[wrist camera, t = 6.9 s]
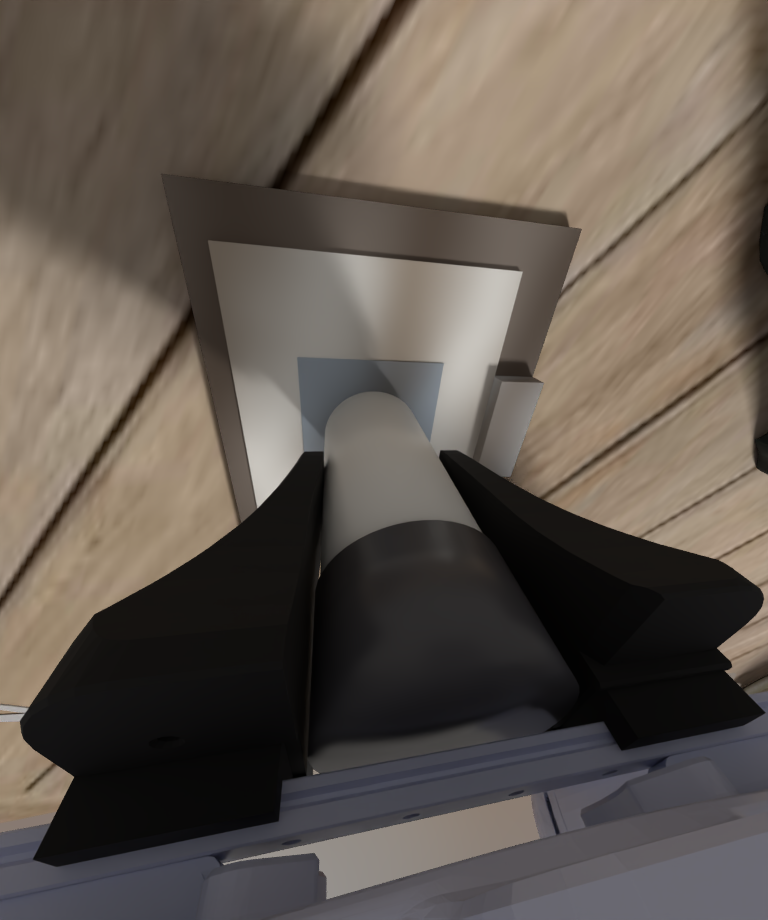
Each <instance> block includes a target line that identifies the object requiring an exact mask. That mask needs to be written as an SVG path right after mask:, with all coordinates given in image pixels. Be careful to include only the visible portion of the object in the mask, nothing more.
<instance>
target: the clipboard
mask: <svg viewBox="0 0 768 920" xmlns="http://www.w3.org/2000/svg"><path fill="white" fill-rule="evenodd" d="M161 175H162V179H163V184H164V188H165V192H166V197H167V201H168V205H169V210H170V214H171V219H172V223H173V227H174V232H175V236H176V240H177V245H178V249H179V254H180V258H181V262H182V267H183V271H184V275H185V280H186V284H187V288H188V293H189V297H190V302H191V306H192V310H193V315H194V319H195V323H196V328H197V332H198V336H199V341H200V345H201V350H202V354H203V358H204V363H205V367H206V371H207V376H208V380H209V385H210V389H211V393H212V398H213V402H214V406H215V411H216V415H217V419H218V424H219V428H220V433H221V437H222V441H223V446H224V450H225V454H226V459H227V463H228V468H229V472H230V476H231V481H232V485H233V489H234V494H235V498H236V502H237V507H238V511H239V516H240V520H241V523H242V522H243V521H244V520H245V519H246V518H247V517H249V516H250V515H251V514H252V513H253V512H254V511H255V510H256V509H257V508H258V507H259V506H260V505H261V504H262V503H263V502H264V501H265V500H266V499H267V498H268V497H269V496H270V495H271V494H272V492H273V491H274V490H275V489H276V488H277V487H278V486H279V485H280V483H281V482H282V481H283V480H284V478H285V477H286V476H287V475H288V473H289V472H290V471H291V469H292V468H293V467H294V465H295V464H296V462H297V461H298V459H299V458H300V456H301V455H302V454H303V453H304V452H305V451H324V445H325V428H326V424H327V421H328V419H329V417H330V415H331V413H332V412H333V411H334V409H335V408H336V407H337V406H338V405H339V404H340V403H342V402H343V401H344V400H346V399H347V398H349V397H351V396H353V395H356V394H359V393H363V392H372V391H376V392H384V393H388V394H391V395H393V396H395V397H397V398H399V399H400V400H402V401H403V402H404V403H405V404H406V405H407V406H408V407H409V408H410V410H411V411H412V413H413V415H414V416H415V418H416V420H417V421H418V423H419V425H420V427H421V428H422V430H423V432H424V433H425V435H426V437H427V439H428V440H429V442H430V444H431V445H432V447H433V449H434V451H435V452H436V454H437V456H438V457H439V455H440V450H458V451H460V452H462V453H463V454H465V455H467V456H469V457H470V458H472V459H474V460H475V461H477V462H478V463H480V464H482V465H483V466H485V467H486V468H488V469H490V470H491V471H493V472H494V473H496V474H498V475H499V476H501V477H511V474H512V471H513V468H514V465H515V463H516V460H517V457H518V454H519V451H520V449H521V446H522V443H523V440H524V437H525V435H526V432H527V429H528V426H529V423H530V421H531V418H532V415H533V412H534V409H535V407H536V404H537V401H538V398H539V395H540V393H541V390H542V387H543V384H544V383H543V382H541V381H539V380H537V379H535V378H533V374H534V371H535V368H536V365H537V362H538V359H539V356H540V353H541V350H542V347H543V344H544V341H545V338H546V335H547V332H548V329H549V326H550V323H551V320H552V317H553V314H554V311H555V308H556V305H557V302H558V299H559V296H560V293H561V290H562V287H563V284H564V281H565V278H566V275H567V272H568V269H569V266H570V263H571V260H572V257H573V254H574V251H575V248H576V245H577V242H578V239H579V236H580V233H581V230H582V229H579V228H572V227H564V226H556V225H549V224H541V223H533V222H526V221H518V220H510V219H503V218H495V217H488V216H480V215H472V214H465V213H457V212H449V211H442V210H434V209H426V208H419V207H411V206H403V205H396V204H388V203H381V202H373V201H365V200H358V199H350V198H342V197H335V196H327V195H319V194H312V193H304V192H297V191H289V190H281V189H274V188H266V187H258V186H251V185H243V184H235V183H228V182H220V181H213V180H205V179H197V178H190V177H182V176H174V175H167V174H161Z"/></svg>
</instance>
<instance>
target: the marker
mask: <svg viewBox="0 0 768 920" xmlns="http://www.w3.org/2000/svg"><path fill="white" fill-rule="evenodd" d="M579 693H580V691H579V685H578V682H577V680H576V679H575V677H574V675H573V674H572V672H571V670H570V669H569V667H568V665H567V664H566V662H565V660H564V659H563V657H562V655H561V654H560V652H559V650H558V649H557V647H556V645H555V644H554V642H553V640H552V639H551V637H550V635H549V634H548V632H547V630H546V629H545V627H544V625H543V624H542V622H541V620H540V619H539V617H538V615H537V614H536V612H535V610H534V609H533V607H532V606H531V604H530V602H529V601H528V599H527V597H526V596H525V594H524V592H523V591H522V589H521V587H520V586H519V584H518V582H517V581H516V579H515V577H514V576H513V574H512V572H511V571H510V569H509V567H508V566H507V564H506V562H505V561H504V559H503V557H502V556H501V554H500V552H499V551H498V549H497V547H496V546H495V545H494V543H493V542H492V541H491V540H490V539H489V538H488V537H487V536H486V535H484V534H483V533H482V531H481V530H480V528H479V526H478V524H477V523H476V521H475V519H474V518H473V516H472V514H471V512H470V511H469V509H468V507H467V506H466V504H465V502H464V500H463V499H462V497H461V495H460V494H459V492H458V490H457V488H456V487H455V485H454V483H453V481H452V480H451V478H450V476H449V475H448V473H447V471H446V469H445V468H444V466H443V464H442V463H441V461H440V459H439V457H438V456H437V454H436V452H435V451H434V449H433V447H432V445H431V444H430V442H429V440H428V439H427V437H426V435H425V433H424V432H423V430H422V428H421V427H420V425H419V423H418V421H417V420H416V418H415V416H414V415H413V413H412V411H411V410H410V408H409V407H408V406H407V405H406V404H405V403H404V402H403V401H402V400H400V399H399V398H397V397H395V396H393V395H391V394H388V393H384V392H376V391H372V392H363V393H359V394H356V395H353V396H351V397H349V398H347V399H346V400H344V401H343V402H342V403H340V404H339V405H338V406H337V407H336V408H335V409H334V411H333V412H332V413H331V415H330V417H329V419H328V421H327V424H326V428H325V445H324V487H323V509H322V540H321V572H320V577H319V580H318V582H317V586H316V589H315V606H314V628H313V649H312V671H311V693H310V714H309V736H308V761H309V764H310V765H311V767H312V768H313V769H314V770H315V771H317V772H319V773H320V774H321V773H326V772H332V771H337V770H342V769H348V768H353V767H359V766H364V765H370V764H375V763H380V762H386V761H391V760H397V759H402V758H407V757H413V756H418V755H424V754H429V753H435V752H440V751H445V750H451V749H456V748H462V747H467V746H473V745H478V744H483V743H489V742H494V741H500V740H505V739H511V738H516V737H521V736H527V735H532V734H538V733H543V732H545V731H546V730H548V729H549V728H551V727H552V726H553V725H555V724H556V723H557V722H559V721H560V720H561V719H562V718H563V717H564V716H565V715H566V714H567V713H568V712H569V711H570V710H571V709H572V708H573V706H574V705H575V703H576V701H577V700H578V696H579Z"/></svg>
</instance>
